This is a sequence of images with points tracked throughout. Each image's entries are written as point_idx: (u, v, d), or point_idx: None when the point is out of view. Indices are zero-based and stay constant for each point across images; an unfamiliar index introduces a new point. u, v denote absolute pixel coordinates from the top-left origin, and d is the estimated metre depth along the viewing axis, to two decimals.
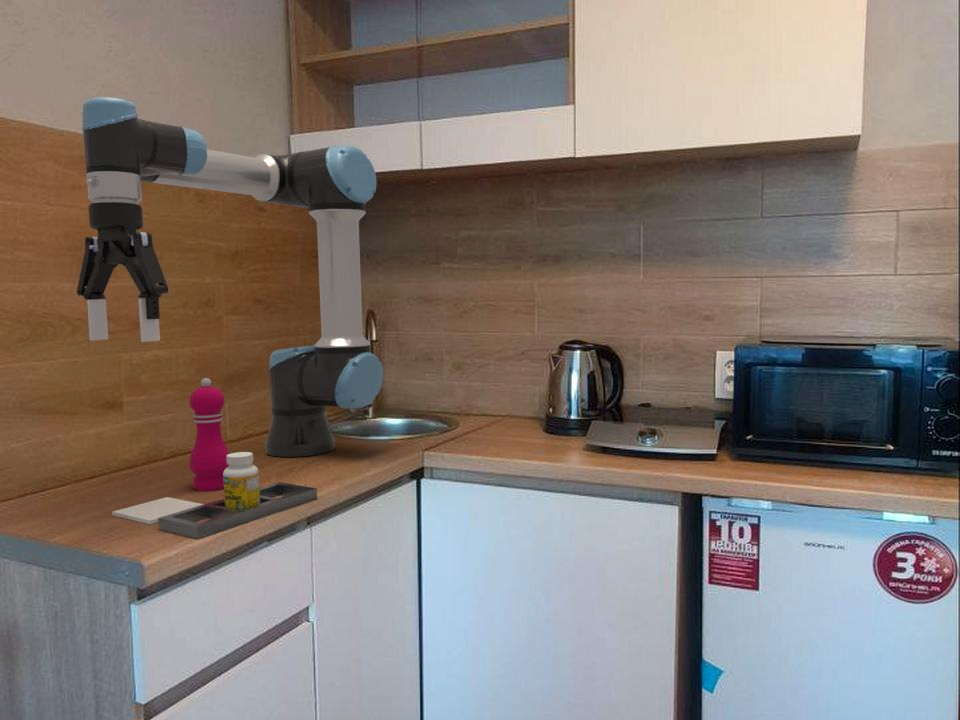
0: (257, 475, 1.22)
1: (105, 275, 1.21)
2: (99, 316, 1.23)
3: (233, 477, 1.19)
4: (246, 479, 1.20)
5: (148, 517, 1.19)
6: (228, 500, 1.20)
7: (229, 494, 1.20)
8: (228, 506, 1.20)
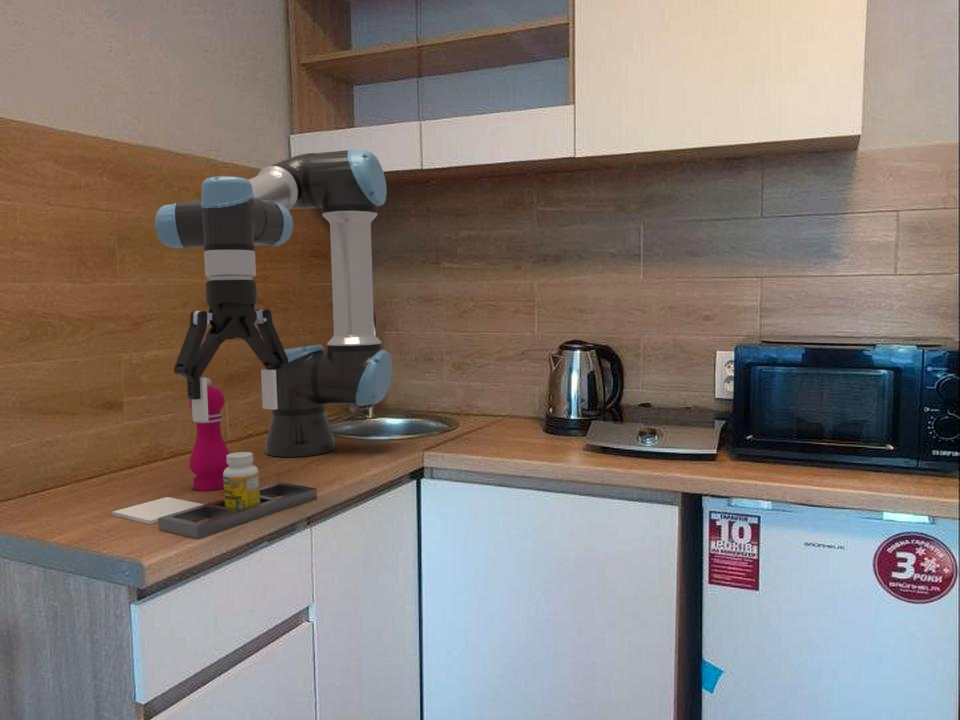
0: (257, 475, 1.22)
1: (256, 347, 1.23)
2: (267, 386, 1.26)
3: (233, 477, 1.19)
4: (246, 479, 1.20)
5: (148, 517, 1.19)
6: (228, 500, 1.20)
7: (229, 494, 1.20)
8: (228, 506, 1.20)
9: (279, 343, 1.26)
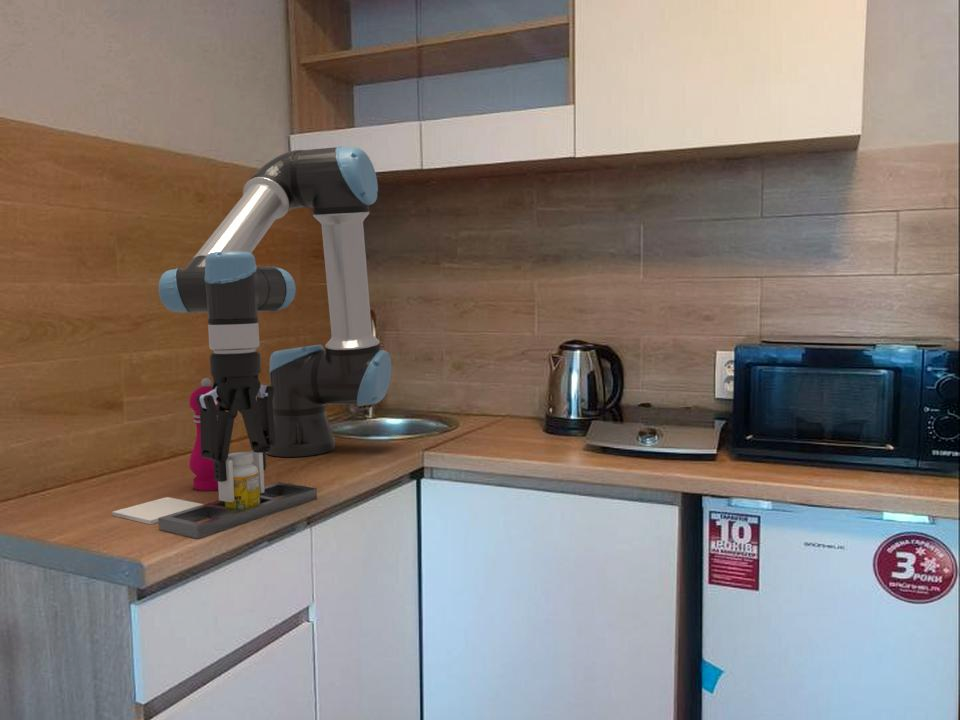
0: (257, 475, 1.22)
1: (250, 423, 1.23)
2: None
3: (233, 477, 1.19)
4: (246, 478, 1.20)
5: (148, 517, 1.19)
6: None
7: None
8: (228, 506, 1.20)
9: (272, 422, 1.25)
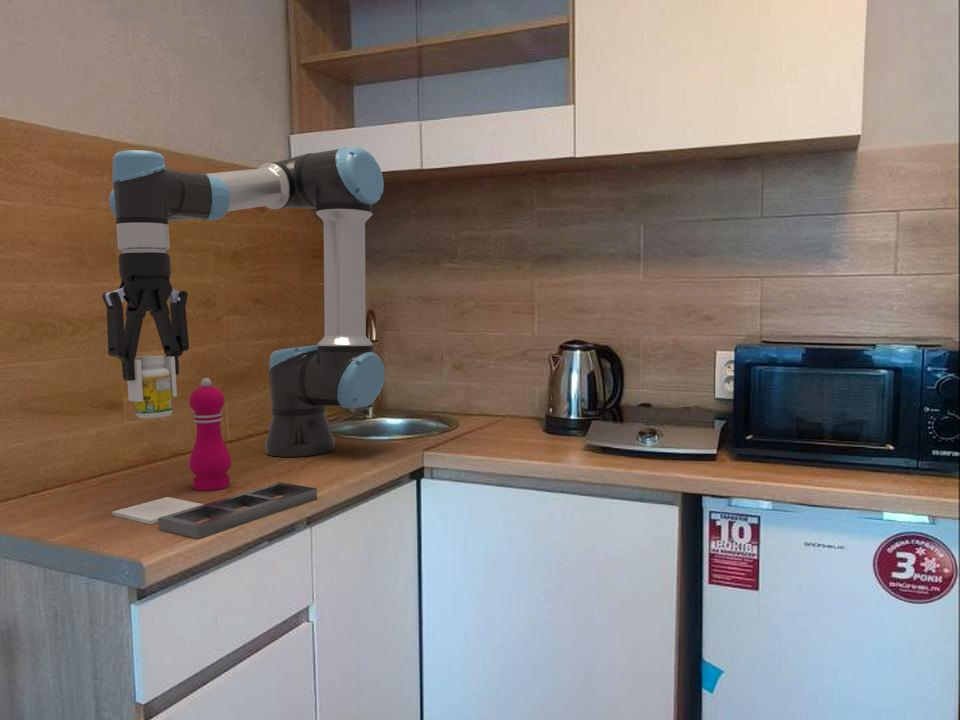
0: (168, 377, 1.22)
1: (161, 326, 1.23)
2: None
3: (142, 377, 1.20)
4: (156, 379, 1.20)
5: (148, 517, 1.19)
6: None
7: None
8: (138, 406, 1.20)
9: (185, 328, 1.26)
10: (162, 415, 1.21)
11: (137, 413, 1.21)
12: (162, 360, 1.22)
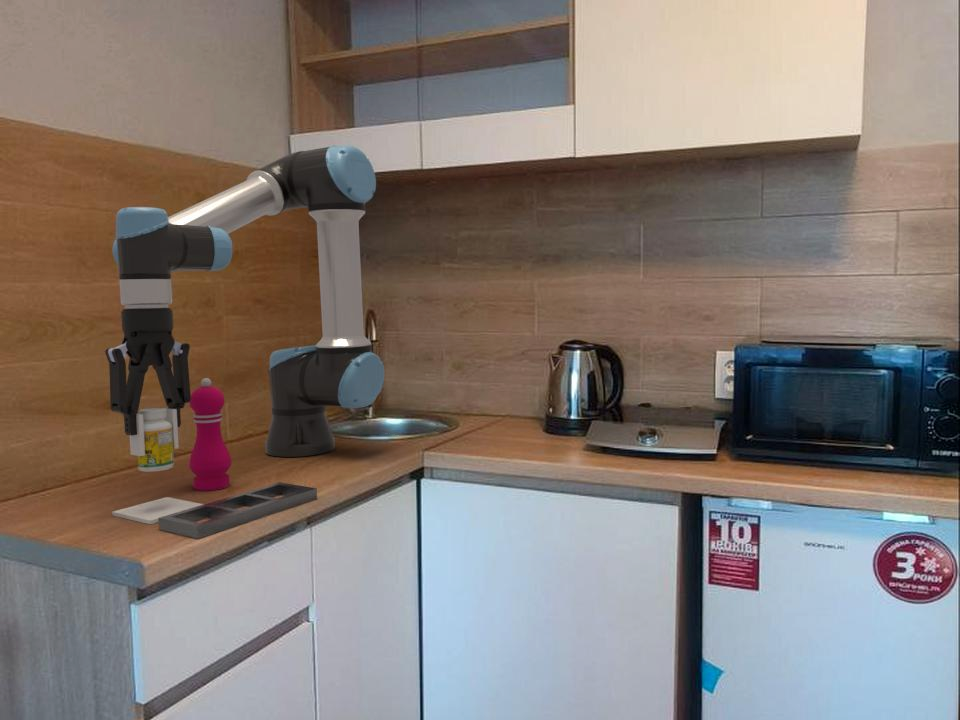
0: (170, 430, 1.23)
1: (163, 379, 1.24)
2: None
3: (144, 431, 1.20)
4: (157, 433, 1.21)
5: (148, 517, 1.19)
6: None
7: None
8: (140, 460, 1.21)
9: (187, 380, 1.26)
10: (164, 468, 1.22)
11: (139, 466, 1.21)
12: (164, 413, 1.22)
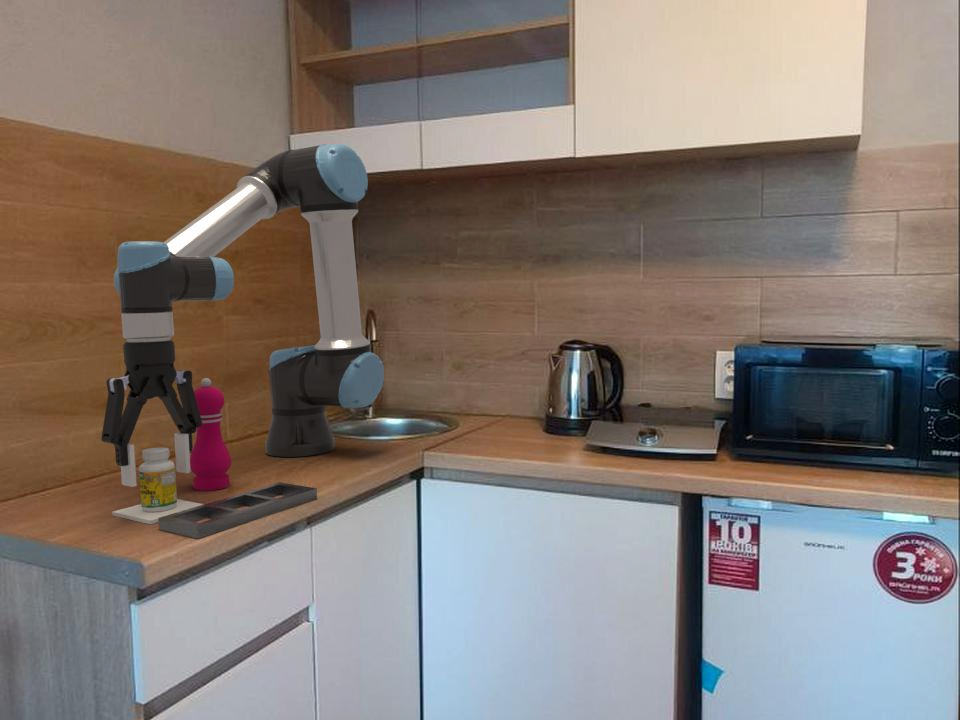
0: (173, 470, 1.23)
1: (171, 408, 1.25)
2: (180, 450, 1.27)
3: (147, 472, 1.21)
4: (161, 474, 1.21)
5: (148, 517, 1.19)
6: (143, 494, 1.22)
7: (144, 489, 1.21)
8: (143, 501, 1.22)
9: (195, 405, 1.28)
10: (167, 509, 1.22)
11: (142, 507, 1.22)
12: (167, 454, 1.23)
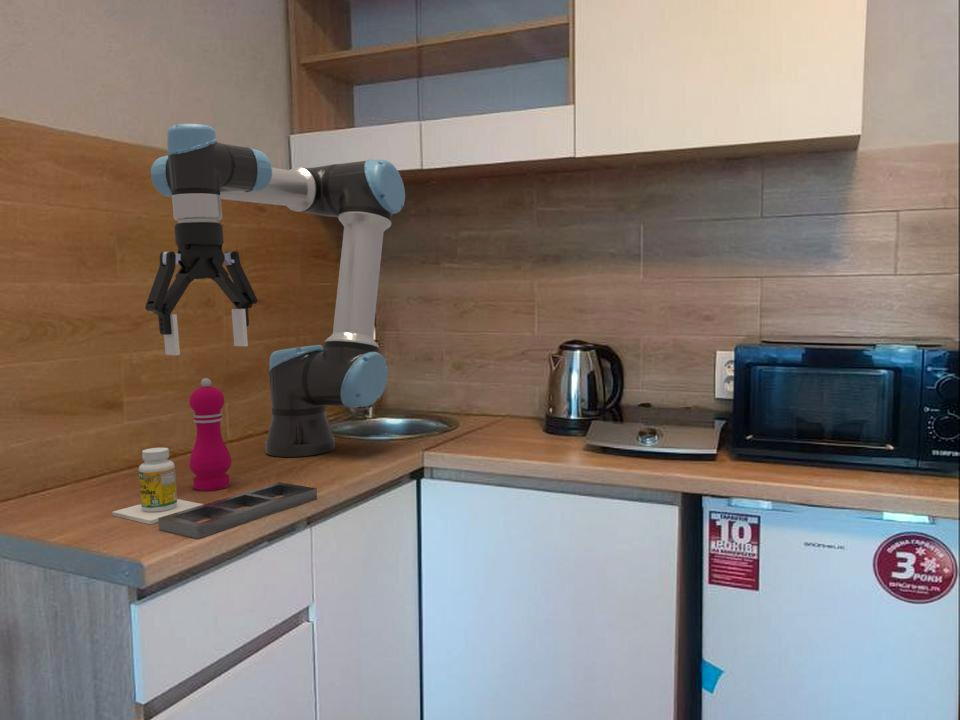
0: (173, 470, 1.23)
1: (226, 287, 1.31)
2: (238, 324, 1.33)
3: (147, 472, 1.21)
4: (160, 474, 1.21)
5: (148, 517, 1.19)
6: (143, 494, 1.22)
7: (143, 489, 1.21)
8: (143, 501, 1.22)
9: (248, 284, 1.33)
10: (167, 508, 1.22)
11: (142, 507, 1.22)
12: (167, 454, 1.23)
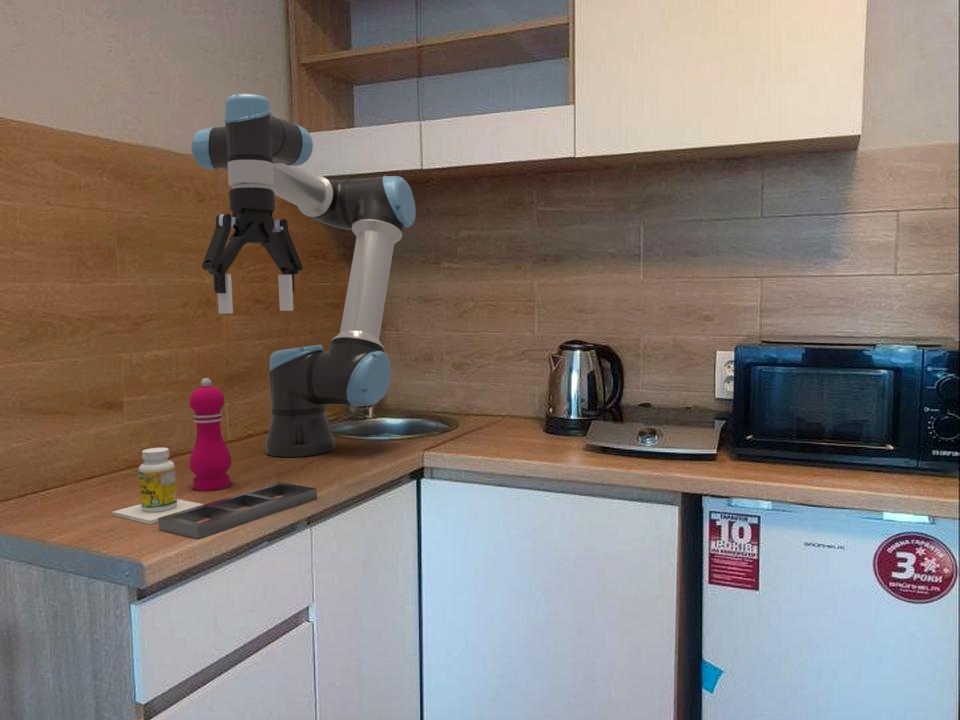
0: (173, 470, 1.23)
1: (274, 253, 1.36)
2: (284, 289, 1.39)
3: (147, 472, 1.21)
4: (160, 474, 1.21)
5: (148, 517, 1.19)
6: (143, 494, 1.22)
7: (143, 489, 1.21)
8: (143, 501, 1.22)
9: (294, 251, 1.39)
10: (167, 509, 1.22)
11: (142, 507, 1.22)
12: (167, 454, 1.23)
